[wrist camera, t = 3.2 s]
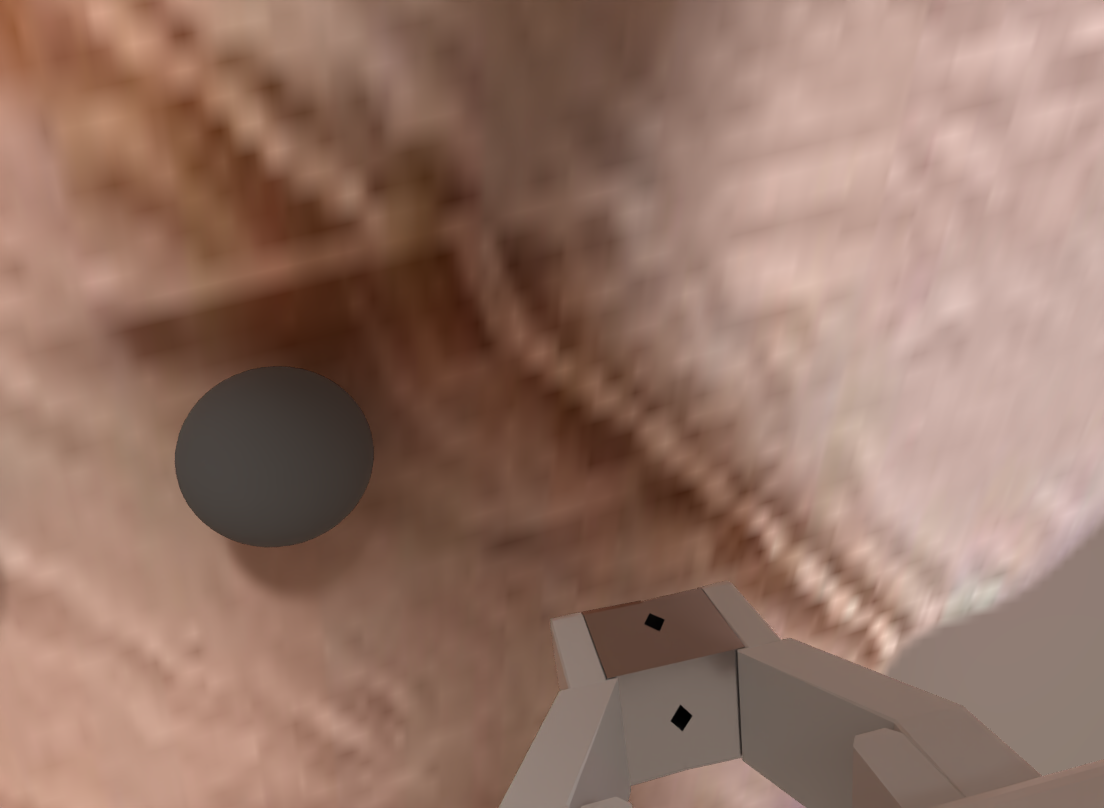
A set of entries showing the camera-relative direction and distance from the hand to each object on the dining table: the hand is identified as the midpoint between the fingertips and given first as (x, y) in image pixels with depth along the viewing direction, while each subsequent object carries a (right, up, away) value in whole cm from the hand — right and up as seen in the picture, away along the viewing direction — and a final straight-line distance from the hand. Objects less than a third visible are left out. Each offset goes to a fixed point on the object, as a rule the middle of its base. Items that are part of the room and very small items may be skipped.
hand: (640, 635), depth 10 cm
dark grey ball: (-11, +2, +10) cm, 15 cm away
